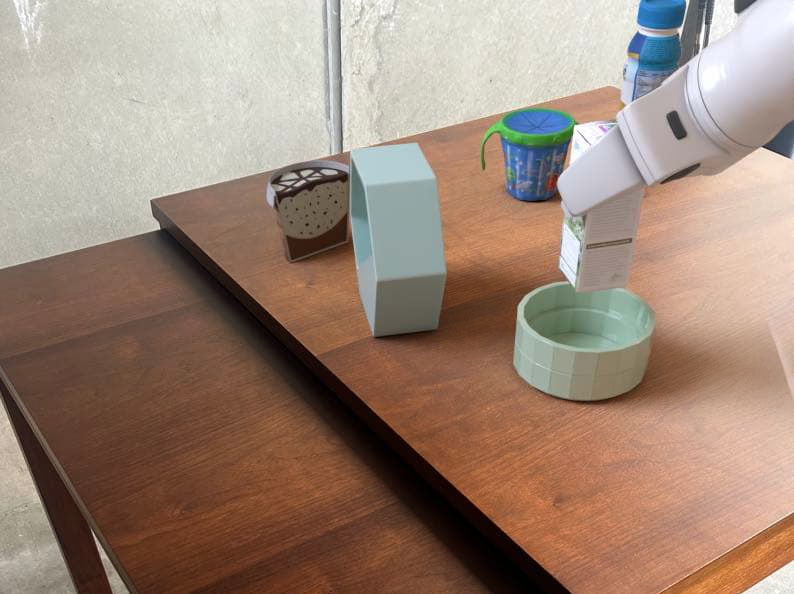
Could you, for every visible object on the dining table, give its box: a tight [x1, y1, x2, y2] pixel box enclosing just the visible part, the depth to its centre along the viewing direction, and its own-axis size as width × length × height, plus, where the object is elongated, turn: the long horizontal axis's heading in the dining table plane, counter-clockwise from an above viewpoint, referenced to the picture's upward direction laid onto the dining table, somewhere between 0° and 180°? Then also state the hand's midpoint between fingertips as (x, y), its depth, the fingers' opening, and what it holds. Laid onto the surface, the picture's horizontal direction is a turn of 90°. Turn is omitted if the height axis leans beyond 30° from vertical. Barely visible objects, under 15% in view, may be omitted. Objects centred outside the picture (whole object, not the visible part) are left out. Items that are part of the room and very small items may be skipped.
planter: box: [349, 142, 448, 338], centre depth 99 cm, size 17×8×21 cm
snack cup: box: [480, 107, 581, 202], centre depth 124 cm, size 16×10×10 cm
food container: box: [266, 160, 350, 264], centre depth 115 cm, size 12×6×10 cm, turn 126°
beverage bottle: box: [617, 0, 687, 114], centre depth 134 cm, size 8×8×20 cm
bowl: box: [512, 280, 657, 402], centre depth 94 cm, size 14×14×6 cm
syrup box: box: [557, 118, 646, 293], centre depth 83 cm, size 6×6×14 cm
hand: (599, 195), depth 83 cm, fingers closed on syrup box, 7 cm apart
